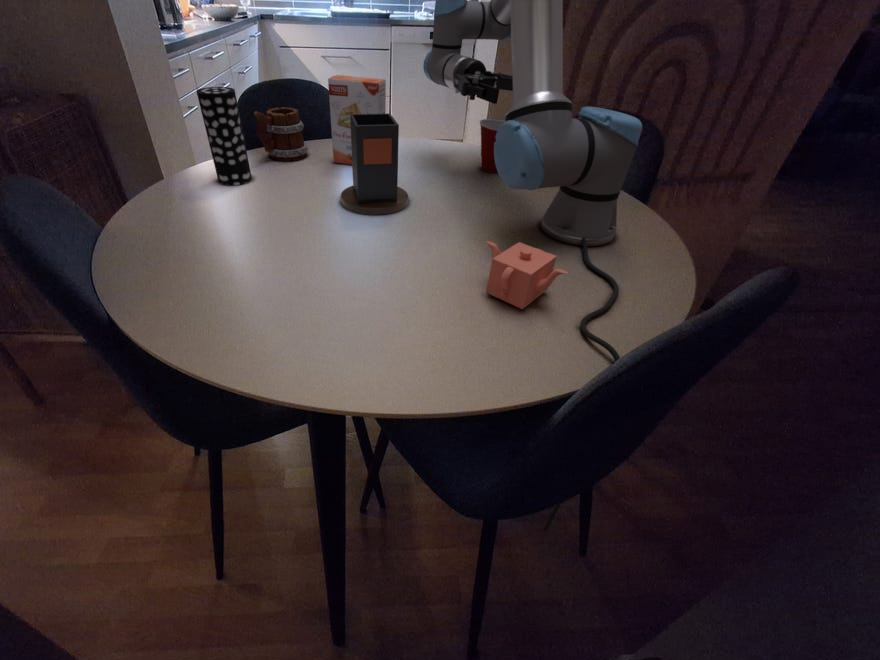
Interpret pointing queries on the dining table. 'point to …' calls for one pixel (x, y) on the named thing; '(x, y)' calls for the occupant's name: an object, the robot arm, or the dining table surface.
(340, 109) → the cracker box
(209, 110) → the spotted tube
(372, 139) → the bin
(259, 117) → the mug
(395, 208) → the disc
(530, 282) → the teapot
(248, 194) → the dining table surface
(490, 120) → the plastic cup
